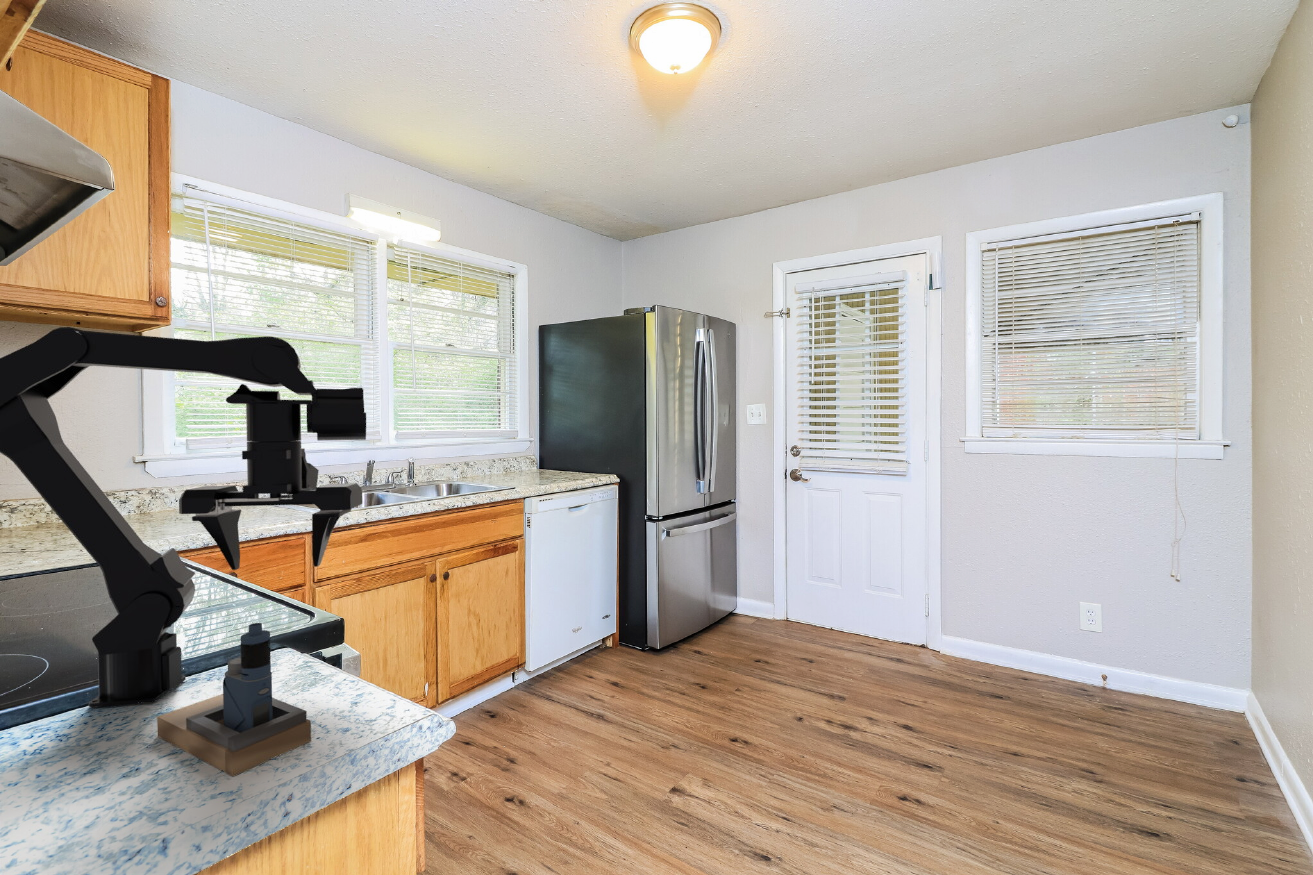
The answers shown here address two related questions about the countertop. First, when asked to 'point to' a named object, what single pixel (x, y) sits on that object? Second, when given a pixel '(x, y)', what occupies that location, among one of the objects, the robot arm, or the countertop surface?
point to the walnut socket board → (233, 734)
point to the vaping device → (249, 683)
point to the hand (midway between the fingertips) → (276, 567)
